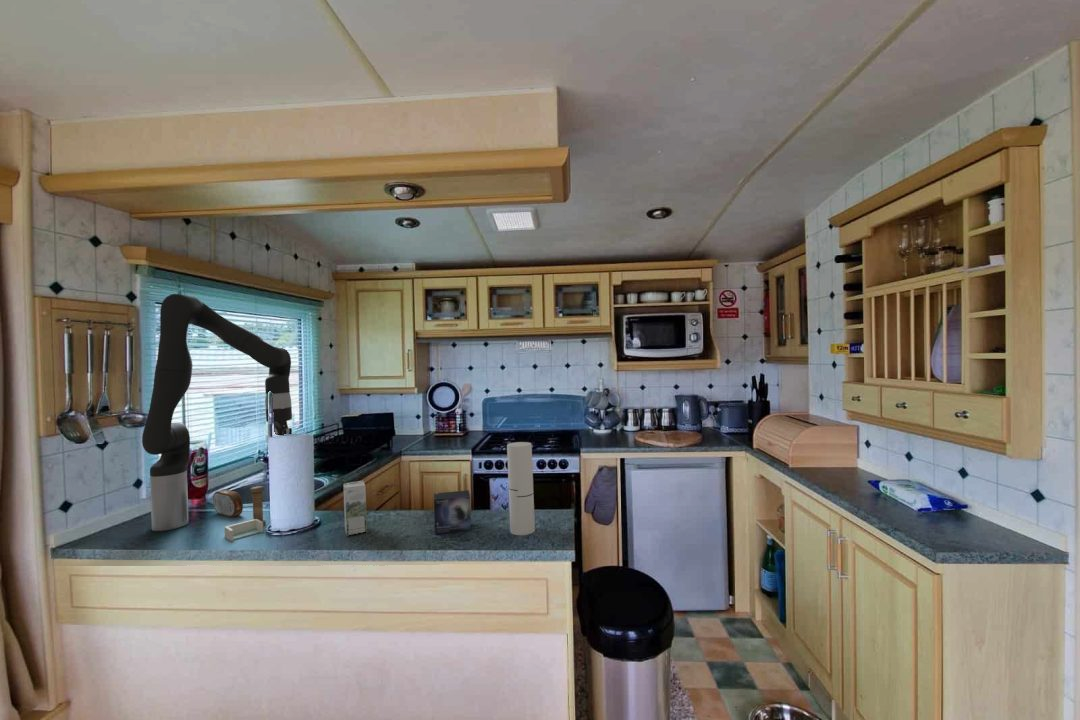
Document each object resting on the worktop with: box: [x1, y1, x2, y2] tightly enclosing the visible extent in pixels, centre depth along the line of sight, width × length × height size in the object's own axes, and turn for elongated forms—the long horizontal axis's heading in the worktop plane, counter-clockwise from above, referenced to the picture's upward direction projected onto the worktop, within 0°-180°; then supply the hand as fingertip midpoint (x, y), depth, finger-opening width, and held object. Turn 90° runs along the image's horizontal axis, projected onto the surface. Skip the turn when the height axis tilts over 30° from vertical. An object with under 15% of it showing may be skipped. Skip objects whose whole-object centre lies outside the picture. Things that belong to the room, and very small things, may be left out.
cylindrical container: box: [506, 441, 536, 536], centre depth 131 cm, size 7×7×25 cm
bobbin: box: [249, 485, 267, 526], centre depth 144 cm, size 4×4×12 cm
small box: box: [433, 489, 472, 535], centre depth 134 cm, size 11×6×10 cm, turn 103°
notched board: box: [224, 519, 264, 542], centre depth 136 cm, size 6×8×3 cm, turn 140°
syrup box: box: [343, 480, 368, 537], centre depth 135 cm, size 6×6×14 cm
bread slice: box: [212, 488, 244, 518], centre depth 156 cm, size 15×3×8 cm, turn 60°
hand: (281, 457), depth 151 cm, fingers closed on cork, 4 cm apart
